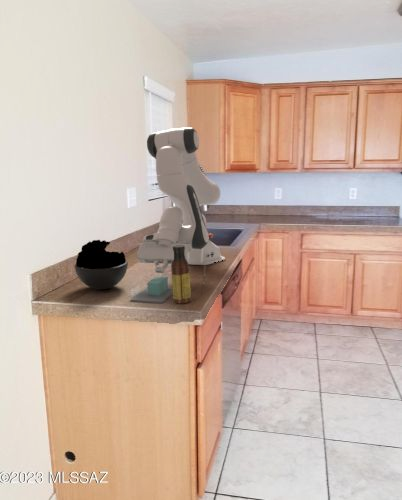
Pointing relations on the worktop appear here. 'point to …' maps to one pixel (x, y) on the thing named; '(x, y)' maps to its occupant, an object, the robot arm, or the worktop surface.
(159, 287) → the teal block
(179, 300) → the sauce bottle
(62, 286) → the worktop surface
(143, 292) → the rubber mat
